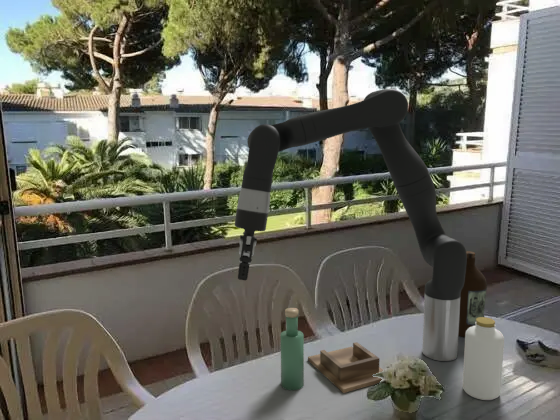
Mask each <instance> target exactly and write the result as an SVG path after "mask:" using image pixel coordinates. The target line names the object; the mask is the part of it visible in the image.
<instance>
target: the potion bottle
mask: <svg viewBox="0 0 560 420" xmlns="http://www.w3.org/2000/svg"><path fill="white" fill-rule="evenodd" d="M475 325H476V326H472V327H469V328H468V329H467V330H466V333H465V337H464V350H463V351H464V353H463V354H464V355H463V369H462V371H463V372H462V389H463V390H464V392H465V393H466V394H467V395H469V396H470V397H472V398H474V399H477V400H480V401H481V400H483V401H492V400H495V399H497V398H499V396H500V395H501V391H502V377H503V376H502V375H503V373H502V372H503V361H504V348H505V337H504V335H503V333H502V332H501V331H500V330H499V329H497V328H496V321H495V320H494V319H493V318H489V317H486V316H484V317H478V318H477V319H476V322H475Z"/></svg>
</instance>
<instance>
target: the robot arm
mask: <svg viewBox="0 0 560 420" xmlns="http://www.w3.org/2000/svg"><path fill="white" fill-rule="evenodd" d="M408 111H409V102H408V99H407V97H406V95H405V94H404V93H402V92H401V91H400V90H397V89H394V88H384V89H379V90H375V91H372V92H370V93H368V94H367V95H366V96H365V97H364V99H363V100H360V101H358V102H355V103H352V104H351V103H350V104H347V105H345V106H344V105H343V106H339V107H335V108H329V109H323V110H318V111H313V112H310V113H309V112H308V113H306V114H305V113H304V114H302V115H298V116H295V117H292V118H288V119H287V120H285V121H283V122H280V123H279V122H278V123H274V124H267V123H264V124H259V125H257V126H256V127H255V128H254V129H253V130H252V131H251V132H250V133H249V135H248V138H247V140H246V141H247V146H248V155H247V161H246V166H245V168H244V171H243V175H242V181H241V188H240V192H239V195H238V200H237V207H236V212H235V218H234V227H236V228H238V229H240V230H241V229H242V230H243V233H242V234H243V235H240V236H239V244H238V245H239V249H238V254H239V259H238V260H239V261H238V262H239V265H238V274H237V279H238V280H240V281H247V280H248V278H249V270H250V265H251V263H252V260H253V259H252V258H253V256H254V254H255V247H256V245H257V240H258V238H257V237H255V232H265V231H266V229H267V223H268V217H269V210H270V205H271V204H270V203H271V190H272V185H273V175H274V170H275V167H276V164H277V159H278V155H279V152H282V151H286V150H289V149H292V148H296V147H302V146H306V145H309V144H313V143H317V142H321V141H323V140H327V139H330V138H333V137H336V136H340V135H343V134H346V133H351V132H354V131H358V130H363V129H369V131H370V134H372V136H373V138H374V140H375V142H376V144H377V146H378V147H379V149H380V152H381V155H382V156H383V161H384V163H385V165H386V168H387V170H388V173H389V175H390V177H391V180H392V182H393V186H394V188H395V190H396V193H397V194H398V197H399V199H400V201H401V203H402V205H403V208H404V210H405V212H406V215H407V216H408V219H409V221H410V223H411V225H412V227H413V231H414V234H415V237H416V240H417V243H418V247H419V250H420V251H419V252H420V254H421V257H422V258H423V260H424V261H425V262H426V264H427V265H429V266H430V267H432V277H431V279H430V280H429V281H427V282H426V283H425V284H424V302H423V305H424V306H423V325H422V326H423V327H422V349H421V351H422V354H423V355H424V356H425V357H426V358H429V359H430V360H435V361H439V362H451V361H454V360H456V359H457V358H458V348H459V336H458V333H459V315H460V295H461V290H462V288H463V286H464V282H465V273H466V264H467V254H466V251H467V250H466V247H465V246H464V244H463V243H462V242H461V241H459V240H457V239H456V238H454V237H450V236H448V235H447V234H446V232H445V230H444V228H443V226H442V223H441V222H440V220H439V217H438V213H437V192H436V187H435V183H434V182H433V179H432V177H431V174H430V171H429V169H428V167H427V165H426V164H425V162H424V160H423V159H422V157H421V156H420V155H419V153H418V152H416V150H415V148H413V147H412V145H411V144H410V142H409V141H408V139H406V136H405V134H404V133H403V130H402V127H401V124H400V123H401V122H403V121H404V119H405V118H406V116H407V115H408Z"/></svg>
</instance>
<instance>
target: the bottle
mask: <svg viewBox="0 0 560 420" xmlns="http://www.w3.org/2000/svg"><path fill="white" fill-rule="evenodd" d="M284 313H285V314H284V316H285V322H286V323H285V330H283V331H281V332H280V334H279V335H280V385H281V387H282V388H283V389H285V390H287V391H297V390H301V389H302V388H303V387H304V386H305V385H304V383H305V375H304V374H305V373H304V372H305V371H304V370H305V365H304V363H305V361H304V360H305V358H304V352H305V349H304V348H305V347H304V336H305V335H304V333H303V332H302V331H301V330H298V329H299V327H298V324H299V322H298V320H299V319H298V318H299V308H296V307H287V308H286V309H284Z"/></svg>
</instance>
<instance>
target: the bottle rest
mask: <svg viewBox="0 0 560 420" xmlns="http://www.w3.org/2000/svg"><path fill="white" fill-rule="evenodd" d="M307 361H308V362H309V363H310V364H312V366H313V367H315V368H316V369H317V370H318V371H319V372H320V373H321V374H322V375H323V376H324V377H325V378H326V379H327V380H328V381H330V382H331V383H332V384H333V385H334V386H335V387H336V388H337V389H338V390H339V391H340V392H341V393H343V394H345V393H349V392H352V391H353V392H354V391H356V390H359V389H362V388H367V387H370V386H373V385H374V386H375V385H377V383H378V384H380V383H379V382H380V381H381V380H382V379H381V378H378V377H373V376H372V375H373V374H376V373H379V372H382V371H383V370H384V369H383V368H382V367H380V357H378V356H377V355H376V354H374V353H373V352H371V351H370V350H369V349H367V348H365V347H364V346H363V345H361V344H360V343H359V342H353V343H352V346H348V347H344V348H340V349H336V350H331V351H327V350H325V349H322V350H320V352H319V353H318V354H314V355H311V356H308V357H307Z"/></svg>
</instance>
